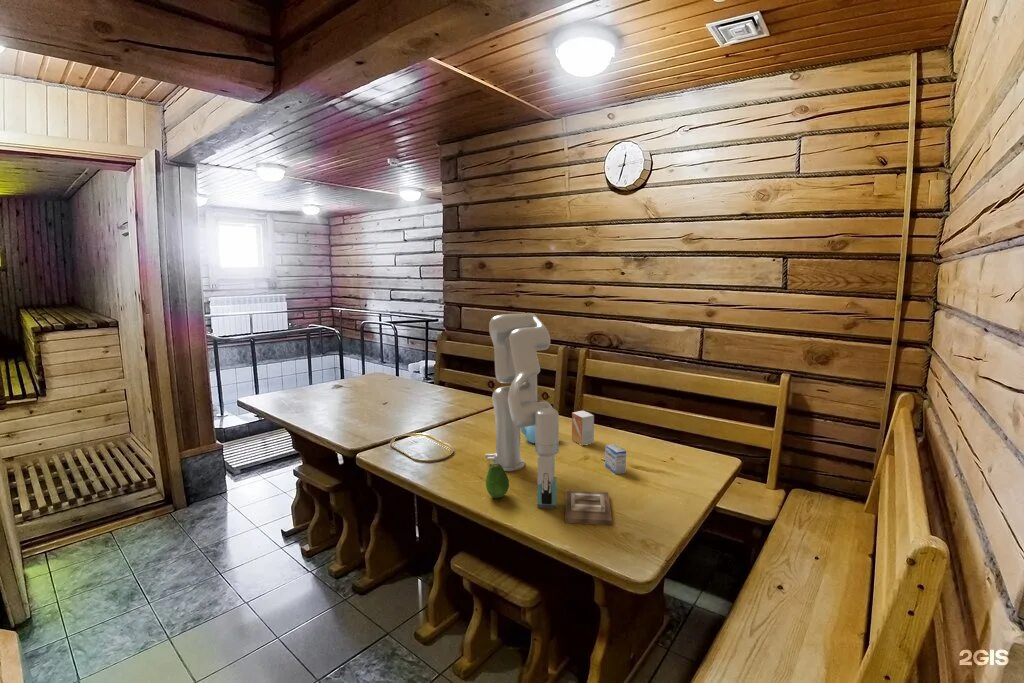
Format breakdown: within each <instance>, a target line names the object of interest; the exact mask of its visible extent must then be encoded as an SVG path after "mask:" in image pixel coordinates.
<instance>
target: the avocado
mask: <svg viewBox="0 0 1024 683" xmlns="http://www.w3.org/2000/svg"><path fill="white" fill-rule="evenodd" d="M485 487H486V490H487V493H488V494H489V496H490V497H492V498H495V499H497V498H498V499H499V498H502V497H504V496H506V494H507V493H508V490H509V488H510V480H509V478H508V475H507V473H506V471H504V469H503V467H502V466H501V465H500V464H497V463H494V464H493V463H492V464H491V465H490V466H489V467H488V470H487V474H486V477H485Z"/></svg>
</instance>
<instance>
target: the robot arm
mask: <svg viewBox="0 0 1024 683" xmlns="http://www.w3.org/2000/svg"><path fill="white" fill-rule="evenodd" d="M488 324H489V326H488V328H489V330H488V331H489V332H488V333H489V336H490V338H491V341H492V344H493V348H494V352H493V353H494V372H495V373H494V374H495V380H497V382H499V383H501V384H510V385H506V386H500V387H497V388H496V389H495V390H494V391H493V392H492V397H491V398H492V400H491V401H492V405H493V410H494V419H495V422H494V423H495V424H494V425H495V452H494V453H485V456H484V457H485V459H487V461H492V464H494V463H497V464H500V465H501V466H502V467H503V469H504V471H505V472H515V471H519V470H521V469H523V468H524V467H525V465H526V464H525V460H524V459H523V458H522V456H521V455H522V454H521V428H520V427H524V428H527V427H528V426H534V425H535V444H534V452H535V453H536V454H537V480H538V485H540V484H542V504H552V492H551V485H552V484H553V478H554V477H555V468H556V467H555V466H556V455H557V454H558V453H559V452H560V450H559V449H560V448H559V447H560V446H559V445H560V442H559V441H560V440H559V439H560V436H559V435H560V434H559V433H560V432H559V430H560V429H559V428H560V427H559V426H560V423H559V422H560V418H559V417H560V416H559V412H558V410H557V409H555V408H553V406H552V405H551V403H550V402H548V401H545V400H544V401H538V375H539V373H541V367H540V362H539V358H538V353H537V351H539V352H540V351H545V350H547V349H549V348H550V346H551V336H550V333H549V330H548V329H547V326H546V325H545V324H544V323H543V322H542V320H540V319H539V317H538V316H537V315H536V314H534V313H532V312H527V313H526V312H522V313H507V314H505V313H504V314H498V315H495V316H492V317H491V318H490V321H489V323H488ZM548 482H550V483H548ZM548 486H549V487H548Z"/></svg>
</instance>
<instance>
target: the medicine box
mask: <svg viewBox="0 0 1024 683" xmlns="http://www.w3.org/2000/svg"><path fill="white" fill-rule="evenodd" d="M604 450H605V452H604V453H605V456H604V457H605V458H604V467H606V468H607V469H608V470H609V469H610V472H613V474H615V475H620V474H624V473H626V471H627V470H626V469H627V451H626V450H625V449H623V448H622V447H620V446H619V445H617V444H615V443H613V444H607V445H605V449H604Z"/></svg>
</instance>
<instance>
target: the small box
mask: <svg viewBox="0 0 1024 683" xmlns="http://www.w3.org/2000/svg"><path fill="white" fill-rule="evenodd" d="M594 428H595V415H594V414H592V413H591V412H587V411H585V410H578V411H574V412H571V441H572V440H573V442H574V441H575V442H574V443H576V442H577V443H576V444H578V443H579V444H581V445H586V444H590V443H594V444H595V442H594V441H595V439H594V437H595V435H594V434H595V429H594ZM579 444H578V445H579ZM581 445H580V446H581ZM590 445H591V444H590ZM586 446H587V445H586Z"/></svg>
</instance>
